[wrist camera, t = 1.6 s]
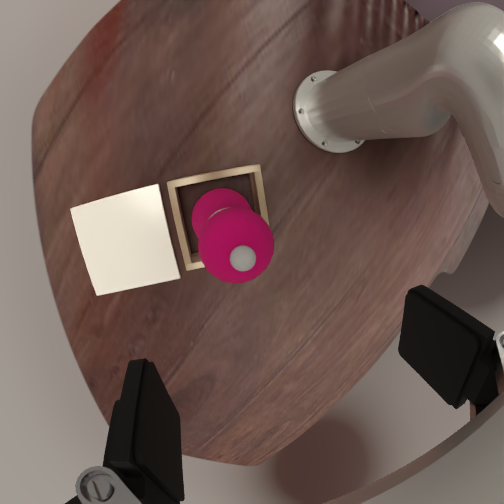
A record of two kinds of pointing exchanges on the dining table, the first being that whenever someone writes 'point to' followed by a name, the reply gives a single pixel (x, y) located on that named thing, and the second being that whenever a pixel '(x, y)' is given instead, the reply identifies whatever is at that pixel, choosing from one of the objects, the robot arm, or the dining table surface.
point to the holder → (253, 170)
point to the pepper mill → (231, 236)
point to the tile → (126, 240)
